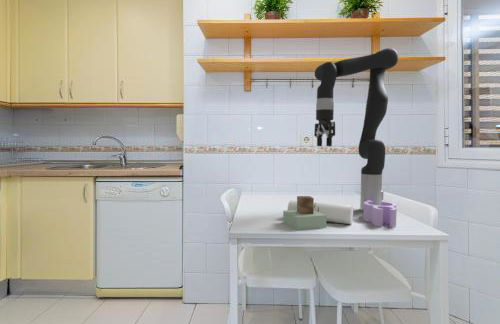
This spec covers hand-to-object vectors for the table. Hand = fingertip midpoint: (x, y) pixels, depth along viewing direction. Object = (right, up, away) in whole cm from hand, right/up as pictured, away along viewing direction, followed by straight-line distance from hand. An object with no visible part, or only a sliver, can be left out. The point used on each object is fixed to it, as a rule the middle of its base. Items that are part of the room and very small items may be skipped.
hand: (324, 146), depth 142 cm
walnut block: (-12, -27, -19) cm, 35 cm away
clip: (+20, -31, -13) cm, 39 cm away
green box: (-12, -32, -20) cm, 39 cm away
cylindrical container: (-16, -27, -7) cm, 32 cm away
